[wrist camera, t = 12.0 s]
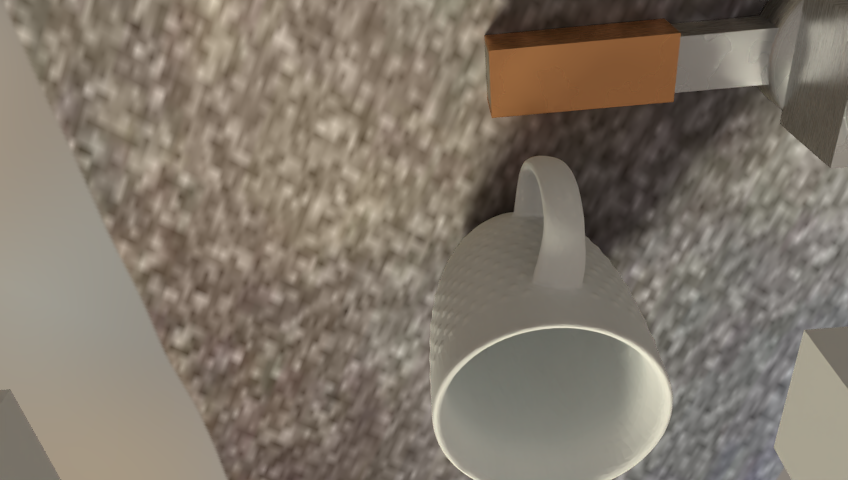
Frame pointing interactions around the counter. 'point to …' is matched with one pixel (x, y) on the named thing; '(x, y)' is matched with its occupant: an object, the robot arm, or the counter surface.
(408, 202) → the counter surface
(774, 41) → the ratchet
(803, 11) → the metal knob on block
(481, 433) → the mug
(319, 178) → the counter surface
